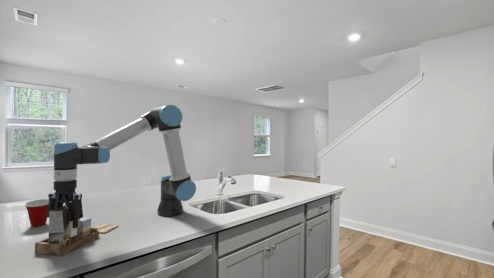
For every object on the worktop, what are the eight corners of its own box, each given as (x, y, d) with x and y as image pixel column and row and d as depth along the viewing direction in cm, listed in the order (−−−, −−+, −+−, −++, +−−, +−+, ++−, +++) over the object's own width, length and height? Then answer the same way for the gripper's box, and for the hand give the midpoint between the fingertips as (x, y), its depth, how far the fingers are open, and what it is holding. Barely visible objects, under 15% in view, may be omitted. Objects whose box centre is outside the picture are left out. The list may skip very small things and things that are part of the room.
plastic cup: (19, 230, 111) (20, 205, 111) (28, 223, 121) (29, 200, 121) (48, 226, 116) (49, 203, 116) (54, 220, 126) (55, 198, 126)
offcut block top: (91, 224, 104) (91, 218, 104) (83, 227, 100) (83, 221, 100) (79, 223, 105) (80, 217, 105) (71, 226, 101) (71, 219, 101)
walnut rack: (98, 236, 105) (99, 227, 105) (61, 256, 87) (61, 245, 87) (75, 234, 107) (76, 226, 107) (34, 253, 89) (35, 242, 89)
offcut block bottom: (90, 237, 104) (90, 231, 104) (82, 241, 100) (82, 234, 100) (79, 236, 105) (79, 230, 105) (71, 240, 101) (71, 233, 101)
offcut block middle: (90, 231, 104) (90, 224, 104) (82, 234, 100) (83, 227, 100) (79, 230, 105) (79, 223, 105) (71, 233, 101) (71, 226, 101)
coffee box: (65, 251, 91) (65, 210, 91) (47, 252, 90) (48, 210, 90) (79, 241, 100) (80, 204, 100) (64, 241, 99) (64, 204, 99)
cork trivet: (118, 226, 118) (118, 225, 118) (104, 233, 109) (104, 232, 109) (100, 225, 119) (100, 224, 119) (86, 232, 110) (86, 230, 110)
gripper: (35, 180, 93) (34, 237, 93) (79, 182, 90) (78, 241, 90) (53, 177, 100) (52, 230, 100) (94, 179, 97) (93, 233, 97)
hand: (64, 235), depth 95 cm, fingers closed on coffee box, 7 cm apart
